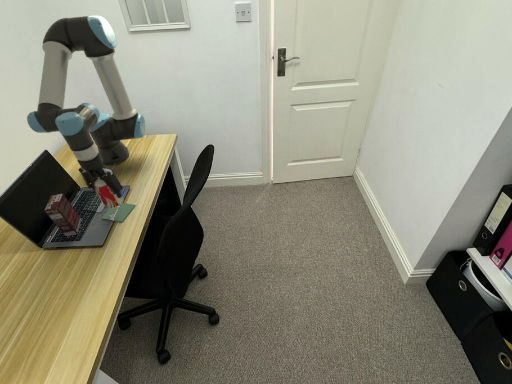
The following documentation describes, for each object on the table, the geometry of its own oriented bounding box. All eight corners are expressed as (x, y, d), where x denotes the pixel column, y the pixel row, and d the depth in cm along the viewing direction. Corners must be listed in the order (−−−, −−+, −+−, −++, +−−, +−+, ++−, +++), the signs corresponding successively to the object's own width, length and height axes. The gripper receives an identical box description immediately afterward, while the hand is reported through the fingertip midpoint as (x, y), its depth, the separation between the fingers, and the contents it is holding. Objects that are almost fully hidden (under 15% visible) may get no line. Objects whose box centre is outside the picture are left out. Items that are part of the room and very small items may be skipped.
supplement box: (71, 222, 117) (50, 195, 107) (83, 220, 118) (63, 192, 107) (65, 238, 111) (42, 210, 100) (78, 235, 112) (57, 208, 101)
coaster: (115, 202, 125) (115, 201, 125) (135, 205, 123) (135, 204, 123) (102, 219, 118) (101, 218, 117) (122, 222, 116) (122, 221, 115)
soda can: (117, 210, 113) (104, 188, 105) (101, 208, 115) (88, 186, 107) (126, 198, 119) (115, 176, 110) (111, 197, 120) (99, 175, 112)
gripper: (57, 159, 100) (86, 204, 115) (105, 164, 96) (129, 211, 111) (71, 147, 105) (98, 192, 121) (118, 152, 101) (139, 198, 117)
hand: (113, 201), depth 116 cm, fingers closed on soda can, 7 cm apart
